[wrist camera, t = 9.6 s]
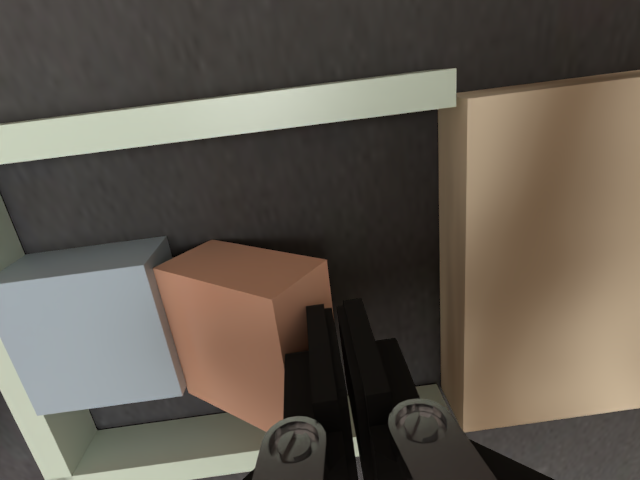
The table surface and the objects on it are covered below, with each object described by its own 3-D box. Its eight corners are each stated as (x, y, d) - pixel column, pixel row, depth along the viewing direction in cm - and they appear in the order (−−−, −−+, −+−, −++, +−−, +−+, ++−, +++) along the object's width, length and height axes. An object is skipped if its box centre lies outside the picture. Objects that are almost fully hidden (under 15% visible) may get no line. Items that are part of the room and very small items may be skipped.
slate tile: (-24, 287, 12) (26, 254, 15) (37, 415, 14) (72, 368, 17) (143, 264, 13) (166, 235, 15) (182, 396, 14) (198, 351, 17)
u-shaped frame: (431, 69, 13) (456, 68, 11) (436, 401, 18) (454, 442, 16) (-60, 131, 13) (-125, 141, 11) (81, 450, 18) (54, 498, 16)
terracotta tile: (326, 259, 12) (272, 299, 10) (342, 393, 14) (298, 448, 12) (211, 239, 15) (152, 268, 13) (237, 353, 17) (188, 392, 15)
